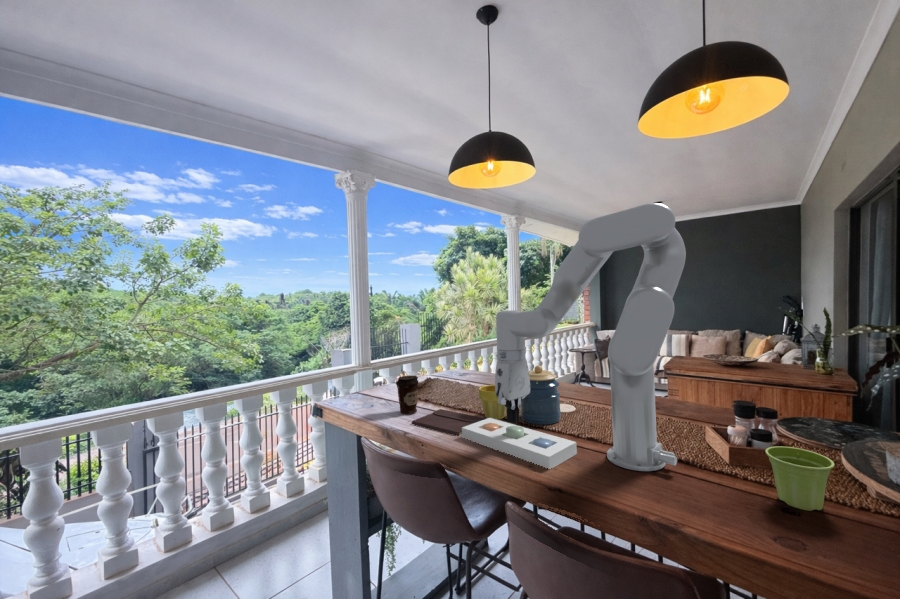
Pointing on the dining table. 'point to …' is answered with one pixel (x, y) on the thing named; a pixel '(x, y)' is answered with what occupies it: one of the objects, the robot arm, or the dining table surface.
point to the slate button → (542, 443)
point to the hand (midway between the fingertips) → (513, 422)
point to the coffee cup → (407, 394)
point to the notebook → (447, 421)
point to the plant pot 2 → (800, 476)
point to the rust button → (491, 426)
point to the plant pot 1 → (491, 402)
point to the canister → (541, 398)
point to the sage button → (515, 432)
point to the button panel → (521, 443)
